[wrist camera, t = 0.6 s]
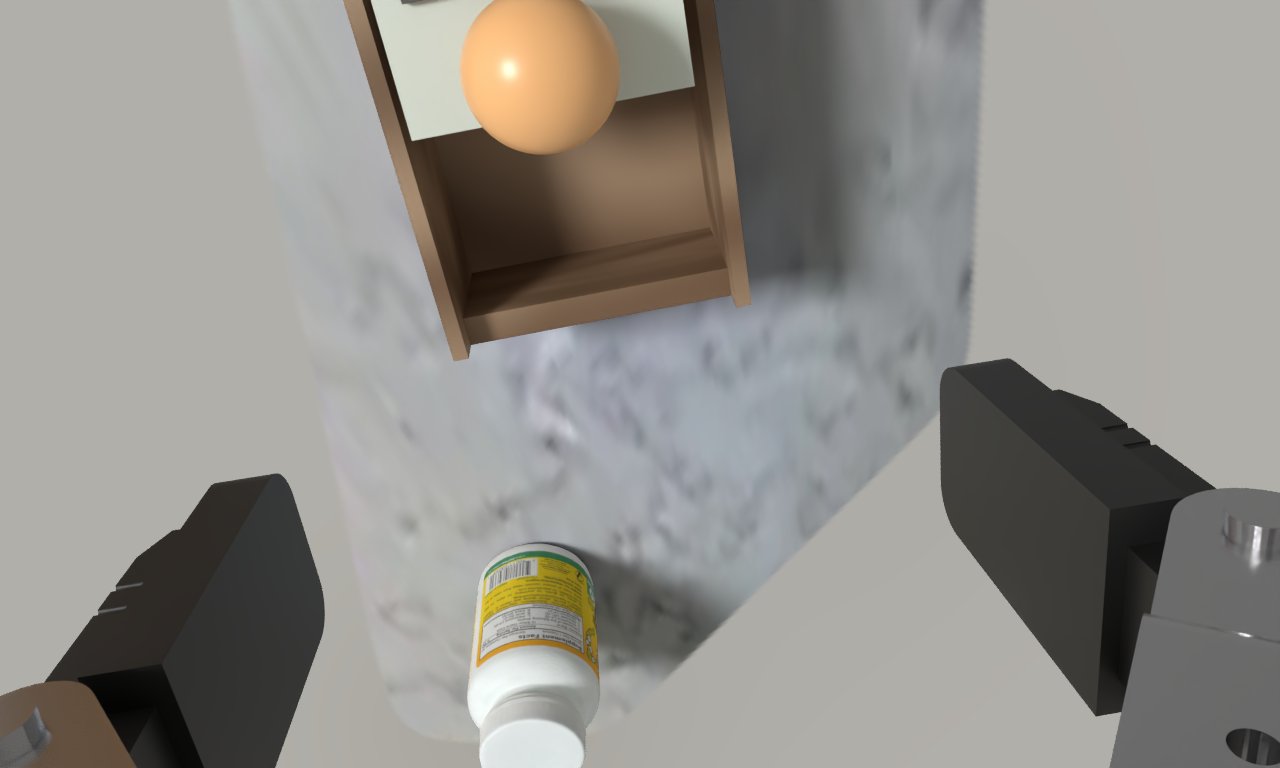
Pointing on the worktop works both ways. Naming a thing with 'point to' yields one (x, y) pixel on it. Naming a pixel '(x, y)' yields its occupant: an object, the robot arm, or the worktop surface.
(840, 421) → the worktop surface
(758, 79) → the worktop surface
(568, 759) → the supplement bottle
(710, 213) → the bin
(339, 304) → the worktop surface
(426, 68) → the flap
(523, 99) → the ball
